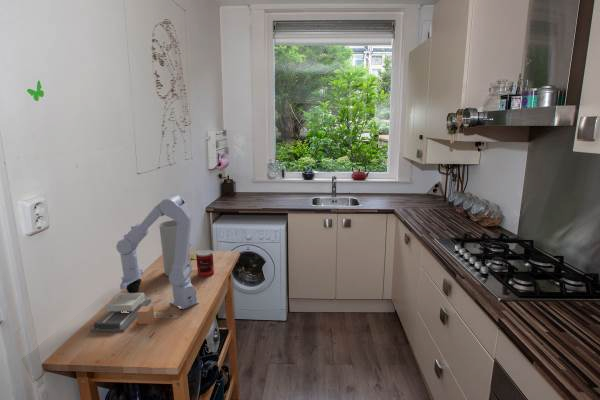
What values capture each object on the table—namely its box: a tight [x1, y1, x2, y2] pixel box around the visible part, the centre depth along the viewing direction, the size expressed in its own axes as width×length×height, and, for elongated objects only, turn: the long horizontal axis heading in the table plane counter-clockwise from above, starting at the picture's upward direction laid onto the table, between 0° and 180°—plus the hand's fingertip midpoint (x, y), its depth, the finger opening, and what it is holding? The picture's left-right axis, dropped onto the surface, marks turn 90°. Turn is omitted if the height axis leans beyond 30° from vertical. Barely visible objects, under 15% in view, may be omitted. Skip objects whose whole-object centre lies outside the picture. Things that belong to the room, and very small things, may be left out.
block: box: [137, 305, 155, 325], centre depth 136 cm, size 4×4×5 cm
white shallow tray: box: [105, 292, 146, 312], centre depth 143 cm, size 10×10×4 cm
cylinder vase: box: [159, 219, 193, 277], centre depth 177 cm, size 12×12×25 cm
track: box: [90, 298, 152, 333], centre depth 141 cm, size 22×12×3 cm, turn 177°
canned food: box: [195, 249, 215, 278], centre depth 176 cm, size 8×8×11 cm
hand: (134, 297), depth 150 cm, fingers closed
